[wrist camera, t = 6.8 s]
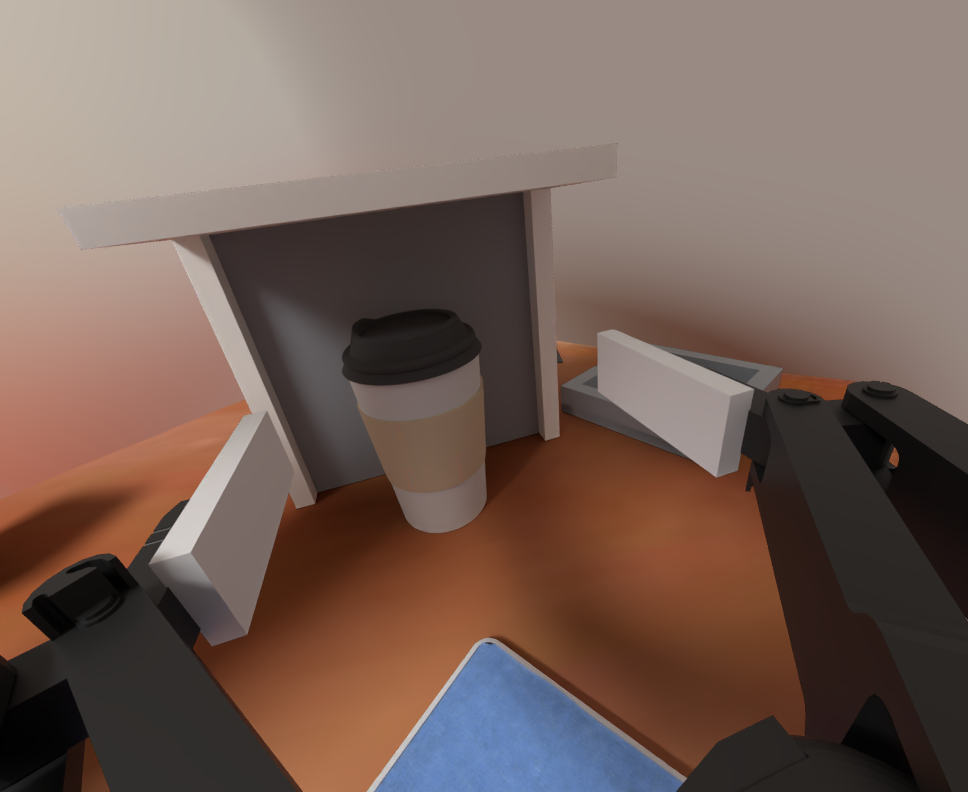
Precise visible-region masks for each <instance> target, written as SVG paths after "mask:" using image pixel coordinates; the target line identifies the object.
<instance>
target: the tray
mask: <svg viewBox="0 0 968 792" xmlns="http://www.w3.org/2000/svg"><path fill="white" fill-rule="evenodd" d="M647 344H648V343H647ZM650 345H652V346H654V347H657V348H659V349H661V350H664V351H666V352H668V353H671V354H673V355H675V356H678V357H680V358H682V359H685V360H687V361H689V362H692V363H694V364H696V365H699V366H702V367H707V368H711V369H713V370H715V371H718V372H720V373H722V375H727V376H730V377H732V378H733V380H734V379H737V380H739V381H741V382H744V383H746V384H749V385H751V386H753V387H756V388H758V389H760V390H763V391H765V392H768V393H769V392H770V391H772V390H777V389H778V388H779V384H780V380H781V376H782V372H783V368H779V367H774V366H768V365H763V364H757V363H751V362H746V361H741V360H735V359H730V358H724V357H719V356H714V355H708V354H703V353H697V352H692V351H686V350H681V349H675V348H670V347H665V346H659V345H654V344H650ZM561 409H562V411H563V412H566V413H568V414H571V415H574V416H576V417H579V418H582V419H584V420H587V421H590V422H592V423H595V424H597V425H600V426H603V427H605V428H608V429H611V430H613V431H616V432H618V433H621V434H624V435H626V436H629V437H632V438H634V439H637V440H640V441H642V442H645V443H647V444H650V445H653V446H655V447H658V448H661V449H663V450H666V451H668V452H671V453H674V454H676V455H679V456H682V457H684V458H687V459H690V458H689V457H687V456H686V455H685V454H683V453H682V452H681V451H679V450H678V449H676V448H675V447H674V446H672V445H671V444H670V443H668V442H667V441H665V440H664V439H663V438H661V437H660V436H659V435H657V434H656V433H654V432H653V431H652V430H650V429H649V428H647V427H646V426H645V425H643V424H642V423H641V422H639V421H638V420H636V419H635V418H634V417H632V416H631V415H630V414H628V413H627V412H625V411H624V410H623V409H621V408H620V407H619V406H617V405H616V404H614V403H613V402H612V401H610V400H609V399H608V398H606V397H605V396H603V395H602V394H601V393H599V392H598V365H596V366H594V367H592V368H591V369H589V370H587V371H586V372H584V373H582V374H580V375H579V376H577V377H575V378H573V379H572V380H570V381H568V382H566V383H565V384H563V385H561ZM690 460H692V459H690ZM692 461H693V460H692Z"/></svg>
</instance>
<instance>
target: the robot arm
mask: <svg viewBox="0 0 968 792" xmlns="http://www.w3.org/2000/svg"><path fill="white" fill-rule="evenodd" d="M598 392H599V393H601V394H602V395H603V396H605V397H606V398H608V399H609V400H610V401H612V402H613V403H614V404H616V405H617V406H619V407H620V408H621V409H623V410H624V411H625V412H627V413H628V414H630V415H631V416H632V417H634V418H635V419H636V420H638V421H639V422H641V423H642V424H643V425H645V426H646V427H647V428H649V429H650V430H652V431H653V432H654V433H656V434H657V435H659V436H660V437H661V438H663V439H664V440H665V441H667V442H668V443H670V444H671V445H672V446H674V447H675V448H676V449H678V450H679V451H681V452H682V453H683V454H685V455H686V456H687V457H689V458H690V459H692V460H693V461H694V462H696V463H697V464H698V465H700V466H701V467H703V468H704V469H705V470H707V471H708V472H709V473H711V474H712V475H714V476H715V477H716V478H717V477H720V476H723V475H726V474H729V473H732V472H735V471H738V467H739V462H740V457H741V453H742V454H744V455H745V456H747V457H749V458H750V459H752V463H751V467H750V472H749V476H748V481H747V485H746V491H749V492H750V489H751V487H752V486H754V490H755V494H756V498H757V503H758V507H759V511H760V515H761V520H762V524H763V528H764V532H765V536H766V541H767V545H768V549H769V553H770V557H771V562H772V566H773V570H774V574H775V578H776V583H777V587H778V591H779V595H780V600H781V604H782V608H783V612H784V616H785V621H786V625H787V629H788V633H789V637H790V642H791V646H792V650H793V654H794V658H795V663H796V667H797V671H798V675H799V680H800V684H801V688H802V692H803V696H804V702H805V711H806V719H805V736H796V735H789V734H788V733H787V732H786V731H785V729H784V728H783V727H782V726H781V725H780V723H779V722H778V721H777V720H776V718H775V717H774V716H773V715H772V716H770V717H768V718H766V719H764V720H762V721H760V722H758V723H756V724H754V725H752V726H750V727H748V728H746V729H744V730H742V731H740V732H737V733H735V734H733V735H731V736H729V737H727V738H725V739H723V740H721V741H719V742H717V743H716V745H715V746H714V747H713V748H712V749H711V751H710V752H709V753H708V754H707V755H706V756H705V758H704V759H703V760H702V761H701V762H700V764H699V765H698V766H697V767H696V768H695V769H694V771H693V772H692V773H691V774H690V775H689V777H688V778H687V779H686V780H685V781H684V782H683V784H682V785H681V786H680V787H679V788H678V790H677V791H676V792H968V621H967V620H968V424H966V423H965V422H963V421H961V420H959V419H958V418H956V417H954V416H952V415H950V414H949V413H947V412H945V411H944V410H942V409H940V408H938V407H937V406H935V405H933V404H931V403H930V402H928V401H926V400H924V399H923V398H921V397H919V396H917V395H916V394H914V393H912V392H910V391H908V390H906V389H904V388H901V387H898V386H895V385H891V384H890V383H886V382H880V381H871V382H864V381H862V382H854V383H852V384H849V385H848V386H847V389H846V392H845V395H844V399H842V400H829V401H825V400H824V399H823V398H821V397H820V396H818V395H816V394H813V393H810V392H806V391H803V390H796V389H777V390H772V391H770V392H769V393H768V392H765V391H763V390H760V389H758V388H756V387H753V386H751V385H749V384H746V383H744V382H741V381H739V380H737V379H734V380H733V378H732V377H730V376H727V375H722V373H720V372H718V371H715V370H713V369H711V368H707V367H702V366H699V365H696V364H694V363H692V362H689V361H687V360H685V359H682V358H680V357H678V356H675V355H673V354H671V353H668V352H666V351H664V350H661V349H659V348H657V347H654V346H652V345H650V344H647V343H645V342H643V341H640V340H638V339H635V338H633V337H631V336H628V335H626V334H623V333H621V332H619V331H617V330H614V329H613V330H608V331H604V332H600V333H598ZM894 447H895V448H896V450H897V452H898V455H899V462H898V466H897V467H895V466H894V465H893V464H892V463H890V462H889V459H890V456H891V454H892V452H893V449H894ZM294 473H295V471H294V469H293V467H292V464H291V462H290V460H289V458H288V456H287V453H286V451H285V449H284V447H283V445H282V442H281V440H280V438H279V436H278V434H277V431H276V429H275V427H274V425H273V423H272V420H271V418H270V416H269V414H268V412H267V410H266V411H262V412H258V413H253V414H249V415H245V416H243V418H242V420H241V421H240V423H239V424H238V426H237V427H236V429H235V430H234V432H233V434H232V435H231V437H230V438H229V440H228V441H227V443H226V444H225V446H224V448H223V449H222V451H221V452H220V454H219V455H218V457H217V458H216V460H215V462H214V463H213V465H212V466H211V468H210V469H209V471H208V472H207V474H206V476H205V477H204V479H203V480H202V482H201V483H200V485H199V486H198V488H197V489H196V491H195V493H194V494H193V496H192V497H191V499H189V500H185V501H181V502H180V503H178V504H177V505H176V506H175V507H174V508H173V509H172V510H170V511H169V512H168V513H167V514H166V515H165V516H164V517H163V518H162V520H161V521H160V522H159V524H158V525H157V527H156V528H155V530H154V533H153V534H151V535H150V537H149V538H148V540H147V541H146V543H145V546H143V547H142V548H141V550H140V551H139V553H138V554H137V555H136V557H135V558H134V560H133V561H132V563H131V564H130V566H129V567H128V568H127V569H126V568H125V566H124V565H123V564H122V563H121V562H120V560H119V559H118V558H117V557H116V556H114V555H112V554H110V553H109V554H99V555H95V556H92V557H89V558H86V559H83V560H81V561H79V562H77V563H75V564H73V565H71V566H69V567H67V568H65V569H63V570H62V571H60V572H59V573H57V574H56V575H54V576H52V577H51V578H49V579H48V580H47V581H45V582H44V583H43V584H42V585H41V586H40V587H38V588H37V589H36V590H35V591H34V592H33V593H32V594H31V595H30V596H29V598H28V599H27V600H26V602H25V603H24V604H23V609H22V614H23V615H24V616H25V617H27V618H28V619H29V620H30V621H31V622H32V623H33V624H34V625H35V626H36V627H37V628H39V629H40V630H41V631H42V632H43V633H44V634H45V635H46V636H47V637H48V638H49V639H50V640H49V641H47V642H45V643H43V644H41V645H39V646H37V647H35V648H33V649H31V650H29V651H27V652H25V653H23V654H21V655H19V656H17V657H15V658H13V659H11V660H9V661H7V660H6V659H5V658H3V657H2V656H1V655H0V792H81V785H82V772H83V760H84V748H85V739H86V738H88V737H90V740H91V742H92V745H93V748H94V750H95V753H96V755H97V758H98V761H99V763H100V766H101V768H102V771H103V774H104V776H105V779H106V781H107V784H108V787H109V789H110V792H303V791H302V790H301V789H300V787H299V786H298V785H297V783H296V782H295V781H294V779H293V778H292V777H291V776H290V774H289V773H288V772H287V770H286V769H285V768H284V767H283V765H282V764H281V763H280V761H279V760H278V759H277V757H276V756H275V755H274V754H273V752H272V751H271V750H270V748H269V747H268V746H267V745H266V743H265V742H264V741H263V739H262V738H261V737H260V735H259V734H258V733H257V732H256V730H255V729H254V728H253V726H252V725H251V724H250V723H249V721H248V720H247V719H246V717H245V716H244V715H243V713H242V712H241V711H240V710H239V708H238V707H237V706H236V704H235V703H234V702H233V700H232V699H231V698H230V697H229V695H228V694H227V693H226V691H225V690H224V689H223V688H222V686H221V685H220V684H219V682H218V681H217V680H216V678H215V677H214V676H213V675H212V673H211V672H210V671H209V669H208V668H207V667H206V666H205V664H204V663H203V662H202V660H201V659H200V658H199V656H198V655H197V654H196V653H195V652H194V650H193V647H194V644H195V642H196V639H197V637H198V635H199V632H201V633H202V635H203V636H204V637H205V638H206V640H207V641H208V642H209V644H210V645H211V646H215V645H218V644H221V643H224V642H227V641H230V640H233V639H236V638H239V637H242V636H245V635H247V634H248V631H249V627H250V624H251V620H252V617H253V614H254V610H255V607H256V603H257V600H258V596H259V593H260V590H261V586H262V583H263V579H264V576H265V572H266V569H267V566H268V562H269V559H270V555H271V552H272V548H273V545H274V542H275V538H276V535H277V531H278V528H279V524H280V521H281V518H282V514H283V511H284V507H285V504H286V501H287V497H288V494H289V490H290V487H291V483H292V480H293V477H294ZM966 618H967V619H966Z"/></svg>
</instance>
